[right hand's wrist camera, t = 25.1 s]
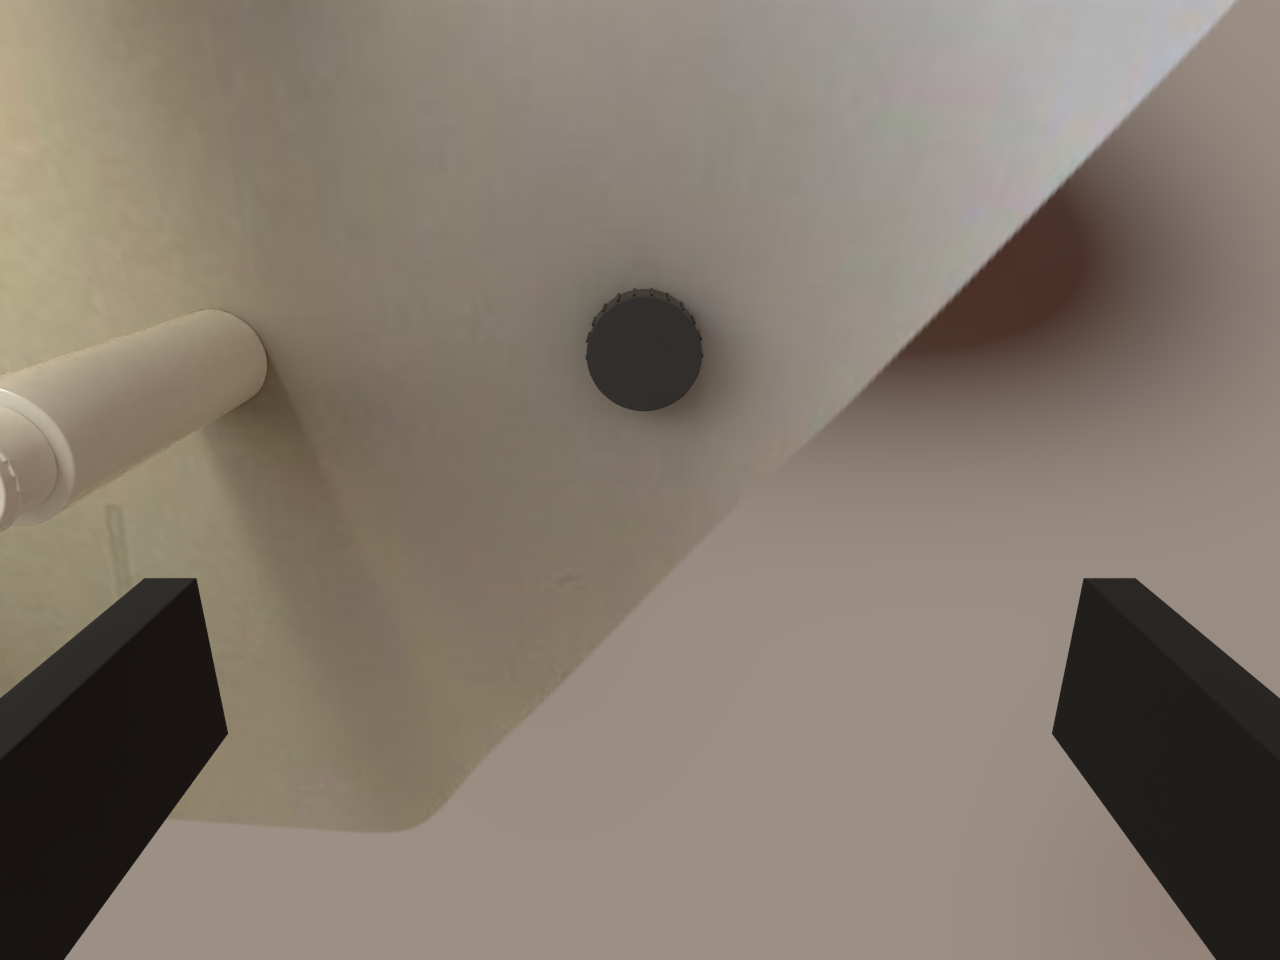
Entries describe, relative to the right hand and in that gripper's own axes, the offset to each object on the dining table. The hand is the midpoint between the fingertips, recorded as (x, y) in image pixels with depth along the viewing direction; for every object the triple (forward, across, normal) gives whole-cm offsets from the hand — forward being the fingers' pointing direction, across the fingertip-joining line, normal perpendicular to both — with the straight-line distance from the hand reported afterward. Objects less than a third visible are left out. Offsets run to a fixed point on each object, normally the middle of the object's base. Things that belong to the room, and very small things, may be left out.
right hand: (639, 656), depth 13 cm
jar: (+26, +19, +1) cm, 32 cm away
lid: (+24, 0, 0) cm, 24 cm away
